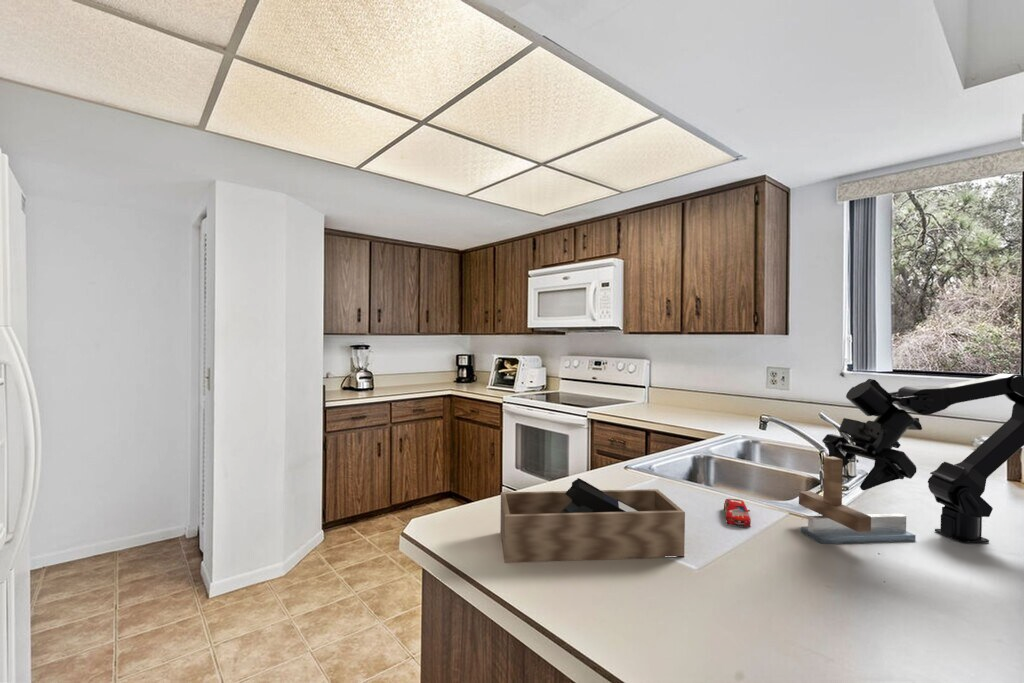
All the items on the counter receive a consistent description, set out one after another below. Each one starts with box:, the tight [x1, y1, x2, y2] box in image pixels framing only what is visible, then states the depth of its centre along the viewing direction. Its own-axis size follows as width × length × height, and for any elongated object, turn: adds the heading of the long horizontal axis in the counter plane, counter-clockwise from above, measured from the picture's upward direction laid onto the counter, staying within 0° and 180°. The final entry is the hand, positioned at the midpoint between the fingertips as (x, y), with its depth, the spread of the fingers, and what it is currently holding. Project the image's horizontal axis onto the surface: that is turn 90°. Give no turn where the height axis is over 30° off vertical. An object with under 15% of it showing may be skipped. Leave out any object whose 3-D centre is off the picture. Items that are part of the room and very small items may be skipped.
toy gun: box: [560, 477, 639, 513], centre depth 102 cm, size 3×24×15 cm, turn 108°
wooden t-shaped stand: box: [798, 456, 871, 532], centre depth 105 cm, size 16×3×13 cm, turn 9°
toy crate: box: [499, 488, 686, 564], centre depth 100 cm, size 36×14×9 cm, turn 95°
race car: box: [723, 498, 752, 528], centre depth 115 cm, size 13×5×4 cm, turn 158°
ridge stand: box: [800, 513, 916, 544], centre depth 105 cm, size 22×6×4 cm, turn 95°
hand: (842, 482), depth 105 cm, fingers open, 9 cm apart
